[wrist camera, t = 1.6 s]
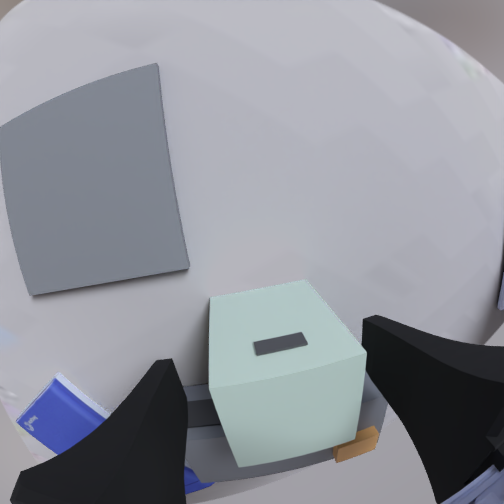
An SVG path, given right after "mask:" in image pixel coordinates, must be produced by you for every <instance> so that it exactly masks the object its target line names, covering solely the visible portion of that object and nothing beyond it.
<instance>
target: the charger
mask: <svg viewBox="0 0 504 504" xmlns="http://www.w3.org/2000/svg"><path fill="white" fill-rule="evenodd" d="M366 357H367V352H366V351H365V349H364V348H363V347H362V346H361V345H360V343H359V342H358V341H357V340H356V339H355V337H354V336H353V335H352V334H351V332H350V331H349V330H348V329H347V328H346V326H345V325H344V324H343V323H342V322H341V320H340V319H339V318H338V317H337V316H336V314H335V313H334V312H333V311H332V310H331V309H330V307H329V306H328V305H327V304H326V303H325V301H324V300H323V299H322V298H321V297H320V295H319V294H318V293H317V292H316V291H315V290H314V288H313V287H312V286H311V285H310V284H309V283H308V281H307V280H306V279H304V280H299V281H294V282H289V283H284V284H279V285H274V286H269V287H264V288H259V289H253V290H248V291H243V292H237V293H231V294H226V295H220V296H214V297H210V317H209V390H210V393H211V396H212V399H213V402H214V405H215V408H216V411H217V413H218V416H219V419H220V422H221V424H222V427H223V430H224V432H225V435H226V437H227V440H228V443H229V445H230V448H231V450H232V453H233V455H234V458H235V460H236V462H237V465H238V467H246V466H253V465H259V464H264V463H270V462H275V461H280V460H284V459H289V458H293V457H297V456H301V455H305V454H309V453H313V452H317V451H320V450H323V449H327V448H330V447H333V446H337V445H340V444H343V443H346V442H349V441H351V440H354V439H355V437H356V431H357V426H358V420H359V414H360V407H361V401H362V393H363V385H364V377H365V368H366Z"/></svg>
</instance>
